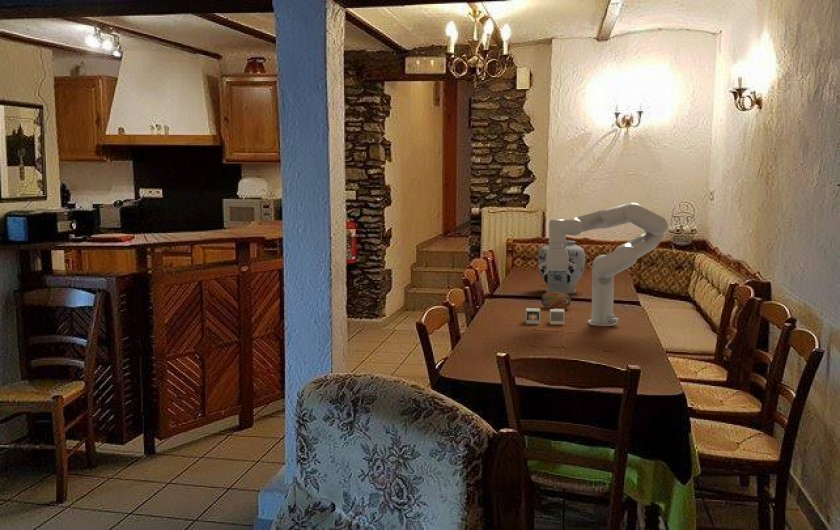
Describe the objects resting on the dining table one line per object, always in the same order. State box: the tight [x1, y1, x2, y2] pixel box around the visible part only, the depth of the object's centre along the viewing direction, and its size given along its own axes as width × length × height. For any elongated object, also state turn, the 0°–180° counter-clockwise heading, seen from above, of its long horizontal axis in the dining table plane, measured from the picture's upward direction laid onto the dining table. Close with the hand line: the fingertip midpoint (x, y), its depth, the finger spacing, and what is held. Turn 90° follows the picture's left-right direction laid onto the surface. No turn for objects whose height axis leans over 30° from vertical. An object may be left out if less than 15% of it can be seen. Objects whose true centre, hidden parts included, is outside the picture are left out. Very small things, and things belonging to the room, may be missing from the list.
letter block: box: [529, 313, 537, 320], centre depth 342 cm, size 4×4×4 cm
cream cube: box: [549, 309, 565, 325], centre depth 340 cm, size 6×6×6 cm
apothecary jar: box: [537, 239, 586, 295], centre depth 429 cm, size 27×27×30 cm
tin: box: [541, 292, 572, 310], centre depth 377 cm, size 15×3×8 cm, turn 62°
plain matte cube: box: [525, 307, 541, 325], centre depth 342 cm, size 6×6×6 cm
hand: (557, 283), depth 339 cm, fingers open, 9 cm apart
